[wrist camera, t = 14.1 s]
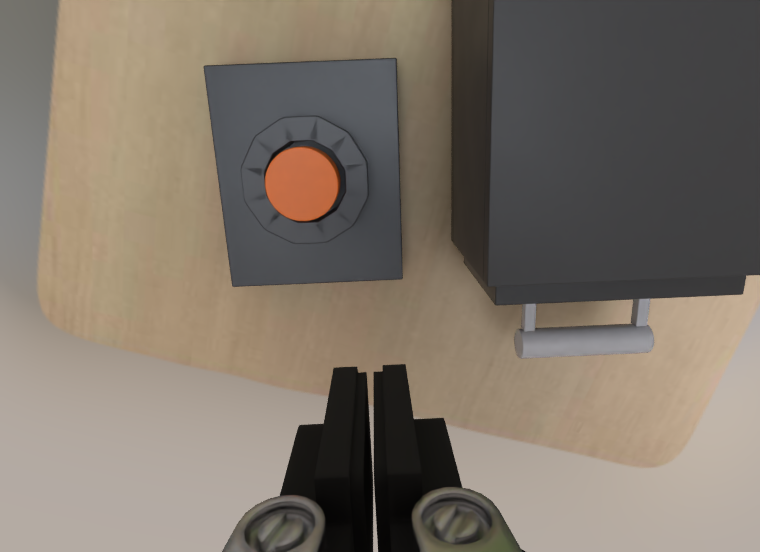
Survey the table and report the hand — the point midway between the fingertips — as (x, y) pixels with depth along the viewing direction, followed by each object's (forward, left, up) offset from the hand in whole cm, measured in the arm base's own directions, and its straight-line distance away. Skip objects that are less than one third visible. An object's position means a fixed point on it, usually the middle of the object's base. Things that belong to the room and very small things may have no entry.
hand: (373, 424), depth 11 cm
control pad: (+4, +3, -20) cm, 20 cm away
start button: (+4, +3, -16) cm, 17 cm away
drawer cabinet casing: (+7, -11, -20) cm, 24 cm away
